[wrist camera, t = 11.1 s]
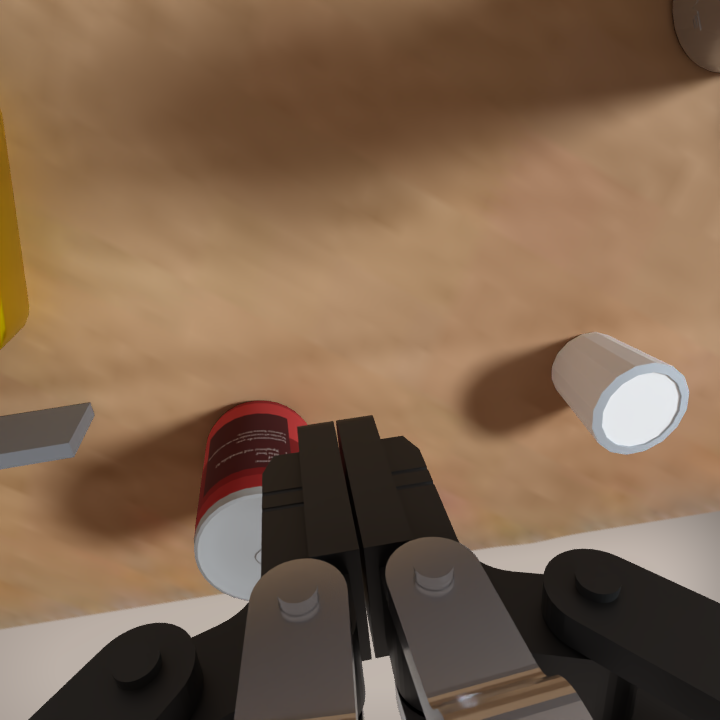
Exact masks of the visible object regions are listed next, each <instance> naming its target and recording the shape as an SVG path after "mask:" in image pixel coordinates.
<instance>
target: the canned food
mask: <svg viewBox="0 0 720 720" xmlns="http://www.w3.org/2000/svg"><path fill="white" fill-rule="evenodd" d="M304 425H307V424H306V422H305V421H304V420H303V419H302V418H301V417H300V416H299V415H298V414H297V413H296V412H295V411H293V410H292V409H290V408H288V407H287V406H284V405H282V404H279V403H276V402H271V401H251V402H246V403H243V404H240V405H237V406H235V407H234V408H232V409H230V410H228V411H227V412H226V413H225V414H224V415H223V416H221V417H220V419H219V420H218V421H217V422H216V424H215V425H214V426H213V428H212V429H211V432H210V434H209V436H208V440H207V445H206V452H205V459H204V466H203V474H202V481H201V488H200V496H199V503H198V510H197V518H196V525H195V536H194V550H195V559H196V563H197V566H198V568H199V570H200V572H201V573H202V575H203V576H204V578H205V579H206V580H207V581H208V582H209V583H210V584H211V585H212V586H214V587H215V588H216V589H218V590H219V591H221V592H223V593H225V594H227V595H229V596H232V597H234V598H238V599H242V600H246V601H249V599H250V595H251V592H252V590H253V588H254V586H255V585H256V583H257V582H258V581H259V580H260V578H261V536H262V474H263V472H264V470H265V469H266V467H267V465H268V464H269V462H270V461H271V459H272V457H273V456H277V455H283V454H289V453H296V452H299V444H298V433H297V427H298V426H304Z"/></svg>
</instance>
